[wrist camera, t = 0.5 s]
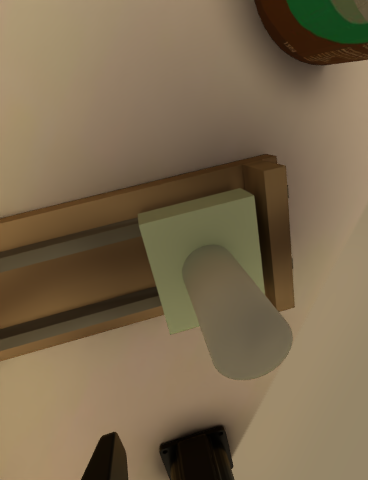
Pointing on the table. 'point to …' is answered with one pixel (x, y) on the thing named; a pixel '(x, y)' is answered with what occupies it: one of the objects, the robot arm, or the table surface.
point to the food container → (318, 29)
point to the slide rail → (120, 255)
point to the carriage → (216, 281)
